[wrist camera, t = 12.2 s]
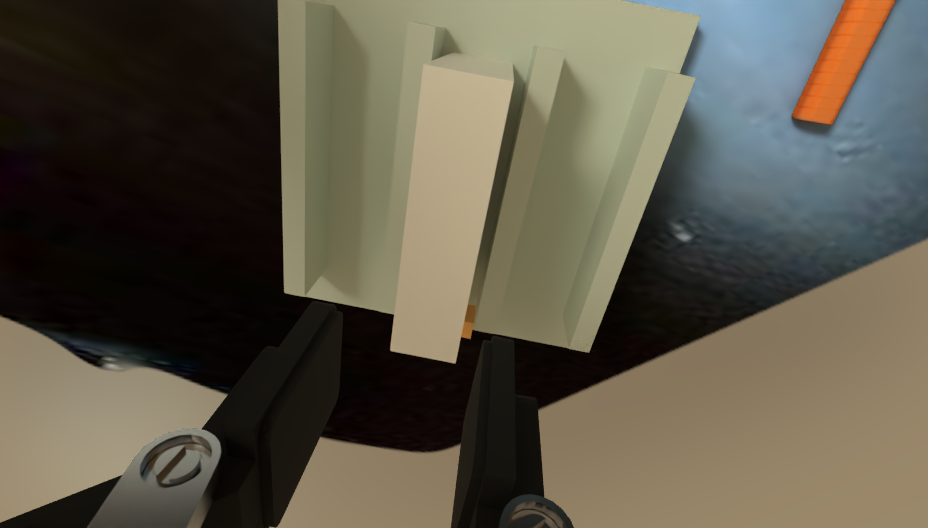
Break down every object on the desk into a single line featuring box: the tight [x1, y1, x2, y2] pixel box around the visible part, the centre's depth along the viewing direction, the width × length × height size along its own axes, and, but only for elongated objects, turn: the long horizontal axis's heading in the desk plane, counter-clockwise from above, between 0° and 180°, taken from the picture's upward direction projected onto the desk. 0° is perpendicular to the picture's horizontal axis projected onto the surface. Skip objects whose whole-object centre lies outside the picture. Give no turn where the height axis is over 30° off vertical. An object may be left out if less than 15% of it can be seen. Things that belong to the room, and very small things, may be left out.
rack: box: [278, 0, 701, 353], centre depth 25 cm, size 20×19×5 cm
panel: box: [390, 52, 514, 363], centre depth 21 cm, size 12×3×9 cm, turn 170°
